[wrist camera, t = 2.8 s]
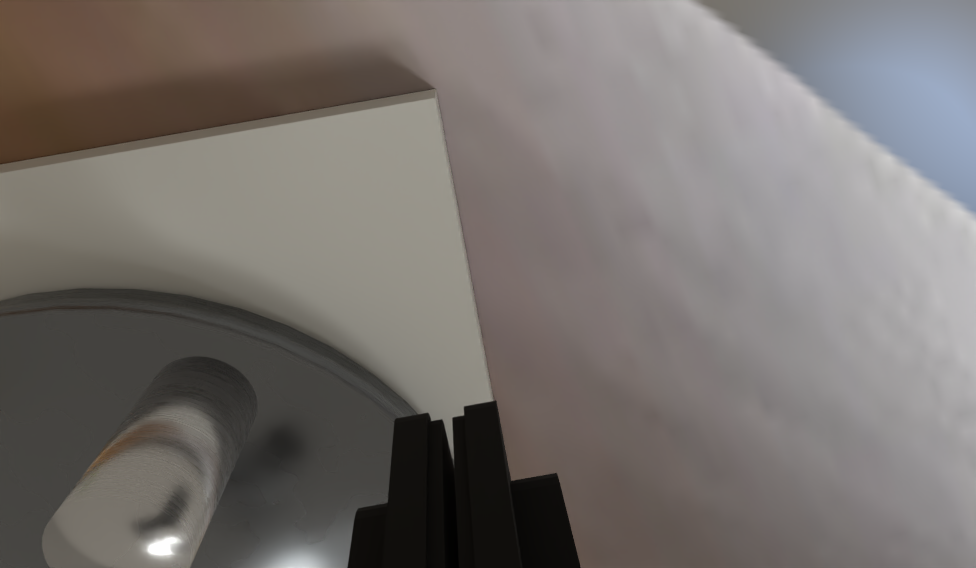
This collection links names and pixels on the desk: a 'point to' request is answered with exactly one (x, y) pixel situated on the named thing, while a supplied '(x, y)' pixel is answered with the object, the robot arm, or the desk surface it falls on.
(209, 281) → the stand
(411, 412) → the dial
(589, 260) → the desk surface
